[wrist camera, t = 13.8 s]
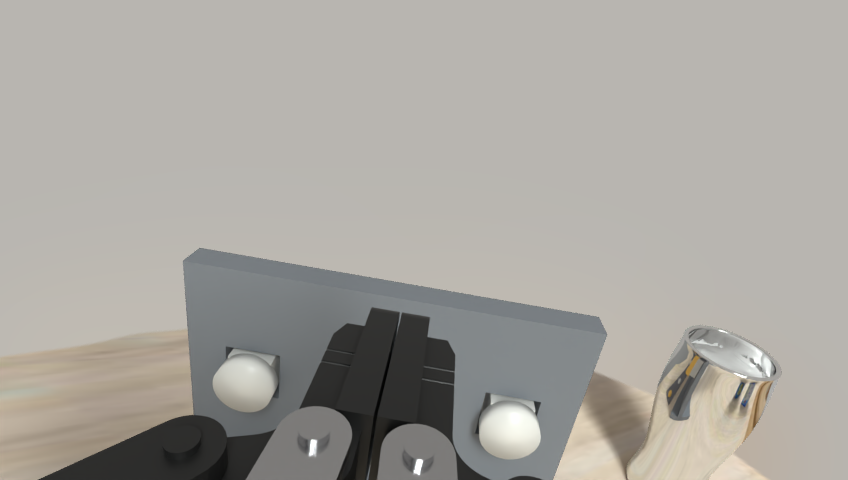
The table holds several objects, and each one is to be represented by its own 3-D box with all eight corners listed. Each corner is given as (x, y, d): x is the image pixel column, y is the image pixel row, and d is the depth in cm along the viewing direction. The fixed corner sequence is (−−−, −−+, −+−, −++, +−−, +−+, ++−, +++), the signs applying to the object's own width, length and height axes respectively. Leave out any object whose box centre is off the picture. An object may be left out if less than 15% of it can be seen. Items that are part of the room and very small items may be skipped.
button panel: (167, 510, 33) (142, 292, 26) (232, 407, 42) (227, 226, 35) (544, 579, 32) (627, 377, 25) (527, 460, 41) (584, 287, 34)
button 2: (213, 406, 32) (211, 360, 30) (269, 326, 41) (269, 287, 39) (270, 417, 32) (271, 370, 30) (313, 334, 40) (316, 295, 39)
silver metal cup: (710, 539, 37) (799, 395, 31) (620, 501, 39) (687, 359, 33) (698, 473, 43) (770, 342, 37) (620, 443, 45) (677, 314, 39)
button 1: (474, 453, 31) (486, 408, 30) (472, 362, 40) (481, 324, 39) (532, 464, 31) (547, 419, 30) (517, 370, 40) (528, 332, 38)
